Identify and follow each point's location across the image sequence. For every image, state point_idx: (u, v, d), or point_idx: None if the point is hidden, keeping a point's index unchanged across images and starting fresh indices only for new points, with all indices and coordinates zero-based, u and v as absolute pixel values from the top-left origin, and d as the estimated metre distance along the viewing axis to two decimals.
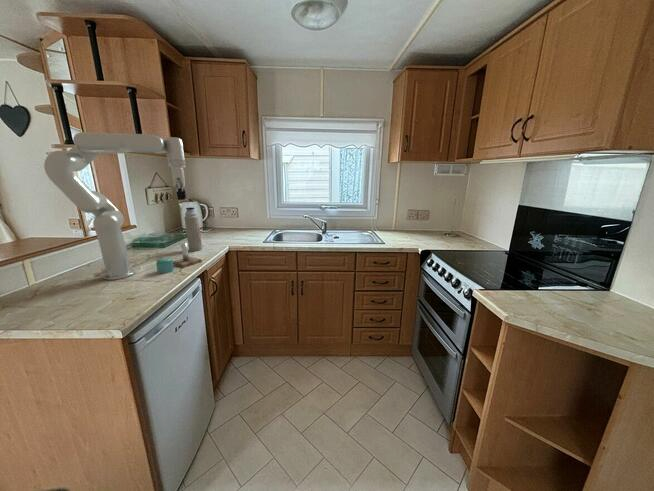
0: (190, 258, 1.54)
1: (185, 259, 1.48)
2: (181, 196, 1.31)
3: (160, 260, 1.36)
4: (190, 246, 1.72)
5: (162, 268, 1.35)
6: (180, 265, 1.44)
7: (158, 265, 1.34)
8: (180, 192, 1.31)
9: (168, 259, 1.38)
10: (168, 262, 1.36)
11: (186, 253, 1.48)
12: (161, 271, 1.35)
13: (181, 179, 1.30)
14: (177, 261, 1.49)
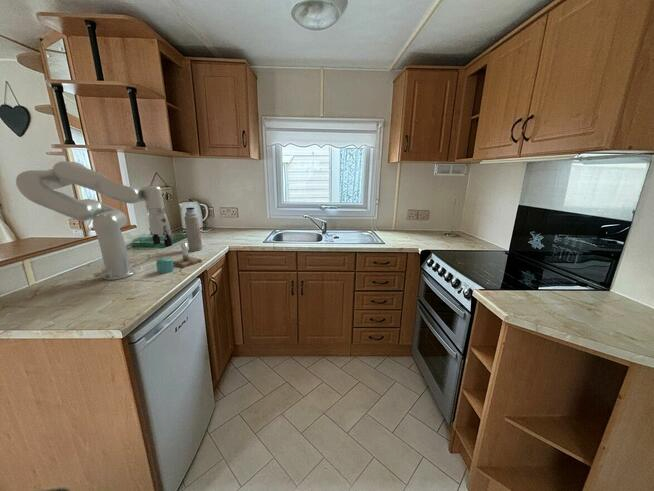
0: (190, 258, 1.54)
1: (185, 259, 1.48)
2: None
3: (160, 260, 1.36)
4: (190, 246, 1.72)
5: (162, 268, 1.35)
6: (180, 265, 1.44)
7: (158, 265, 1.34)
8: None
9: (168, 259, 1.38)
10: (168, 262, 1.36)
11: (186, 253, 1.48)
12: (161, 271, 1.35)
13: None
14: (177, 261, 1.49)
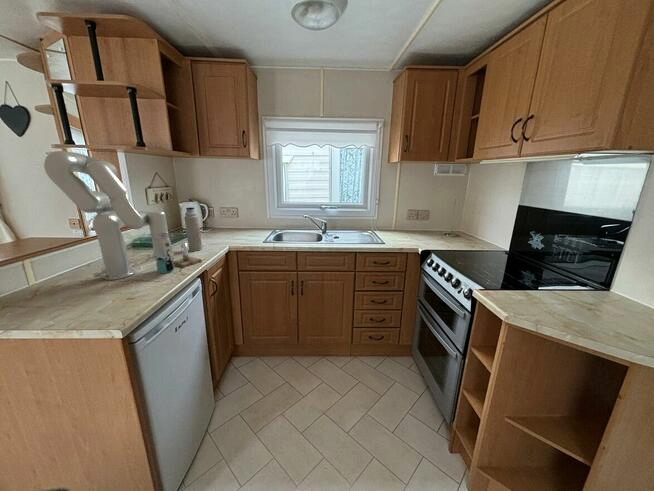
0: (190, 258, 1.54)
1: (185, 259, 1.48)
2: None
3: (160, 260, 1.36)
4: (190, 246, 1.72)
5: (162, 268, 1.35)
6: (180, 265, 1.44)
7: (158, 265, 1.34)
8: None
9: (168, 259, 1.38)
10: None
11: (186, 253, 1.48)
12: (161, 271, 1.35)
13: None
14: (177, 261, 1.49)
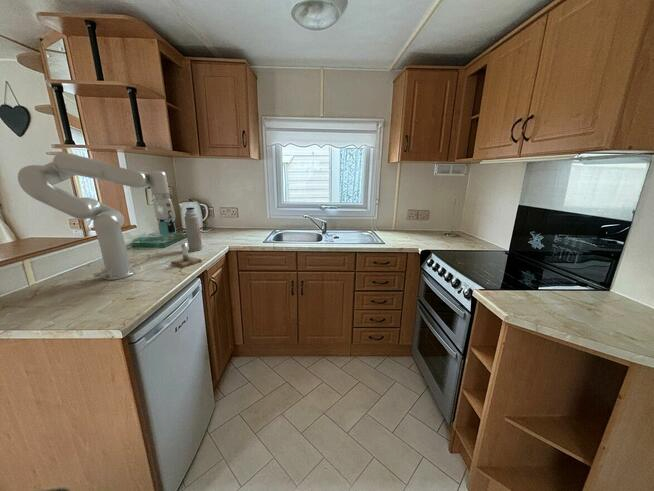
0: (190, 258, 1.54)
1: (185, 259, 1.48)
2: None
3: (162, 222, 1.35)
4: (190, 246, 1.72)
5: (164, 229, 1.33)
6: (180, 265, 1.44)
7: (160, 226, 1.33)
8: None
9: None
10: None
11: (186, 253, 1.48)
12: (163, 233, 1.34)
13: None
14: (177, 261, 1.49)
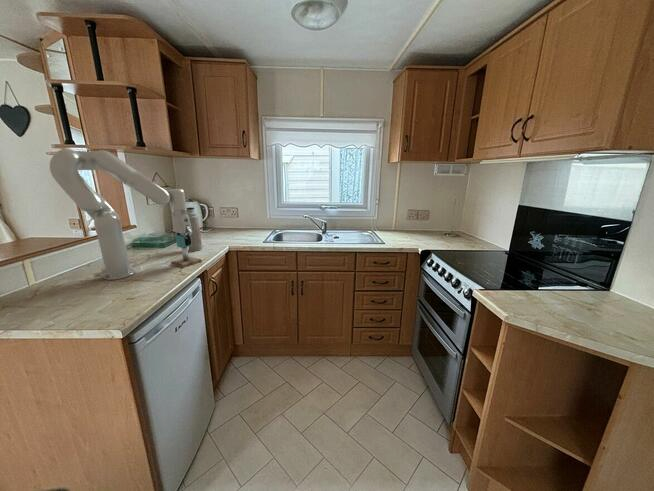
0: (190, 258, 1.54)
1: (185, 259, 1.48)
2: None
3: (179, 235, 1.46)
4: (190, 246, 1.72)
5: (181, 242, 1.44)
6: (180, 265, 1.44)
7: (178, 240, 1.44)
8: None
9: (186, 234, 1.47)
10: None
11: (186, 253, 1.48)
12: (180, 245, 1.44)
13: None
14: (177, 261, 1.49)
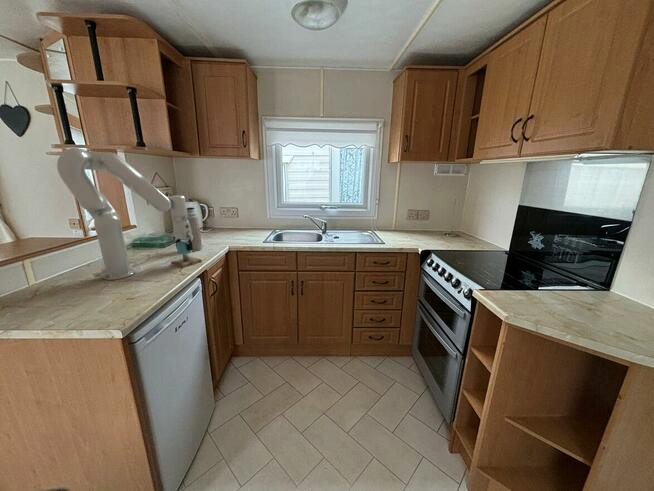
0: (190, 258, 1.54)
1: (185, 259, 1.48)
2: None
3: (180, 242, 1.46)
4: None
5: (182, 249, 1.45)
6: (180, 265, 1.44)
7: (178, 246, 1.45)
8: None
9: None
10: None
11: None
12: (181, 252, 1.45)
13: None
14: (177, 261, 1.49)
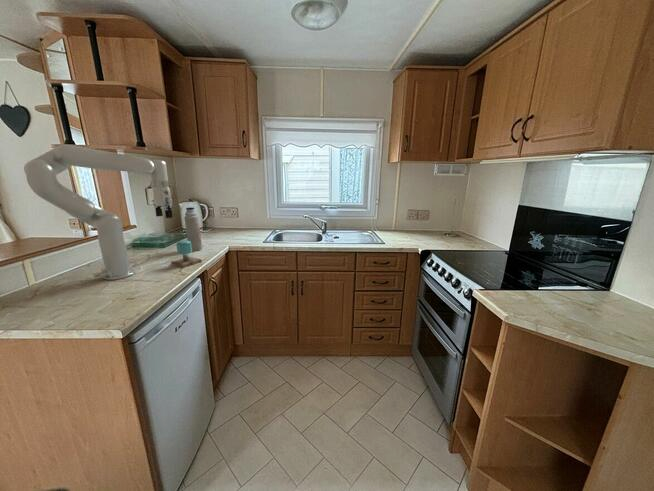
0: (190, 258, 1.54)
1: (185, 259, 1.48)
2: None
3: (180, 242, 1.46)
4: None
5: (182, 249, 1.45)
6: (180, 265, 1.44)
7: (178, 246, 1.45)
8: None
9: (187, 241, 1.48)
10: (187, 244, 1.46)
11: None
12: (181, 252, 1.45)
13: None
14: (177, 261, 1.49)
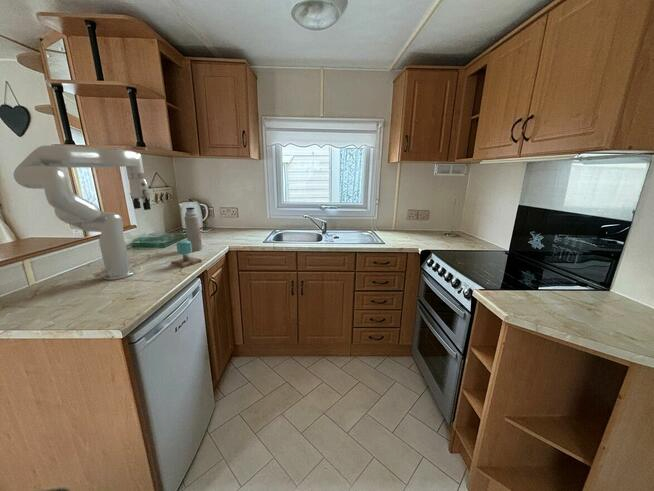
0: (190, 258, 1.54)
1: (185, 259, 1.48)
2: None
3: (180, 242, 1.46)
4: None
5: (182, 249, 1.45)
6: (180, 265, 1.44)
7: (178, 246, 1.45)
8: None
9: (187, 241, 1.48)
10: (187, 244, 1.46)
11: None
12: (181, 252, 1.45)
13: None
14: (177, 261, 1.49)
